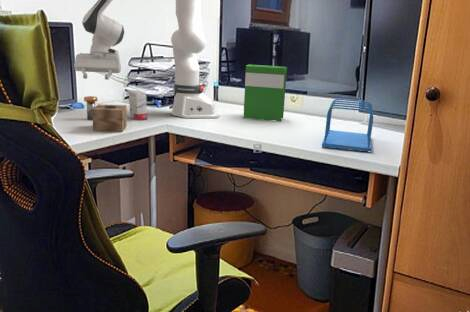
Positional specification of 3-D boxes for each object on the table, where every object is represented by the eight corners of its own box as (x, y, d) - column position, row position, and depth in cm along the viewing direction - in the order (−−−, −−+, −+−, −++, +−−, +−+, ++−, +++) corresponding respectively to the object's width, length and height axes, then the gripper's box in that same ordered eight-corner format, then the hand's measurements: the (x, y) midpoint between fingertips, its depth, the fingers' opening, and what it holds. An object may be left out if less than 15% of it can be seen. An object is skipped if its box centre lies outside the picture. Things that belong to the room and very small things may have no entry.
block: (126, 125, 192) (126, 105, 190) (122, 132, 181) (122, 110, 179) (99, 125, 191) (98, 104, 189) (93, 131, 181) (92, 109, 178)
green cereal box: (283, 118, 223) (286, 67, 217) (280, 121, 216) (284, 68, 210) (246, 115, 227) (249, 64, 220) (243, 117, 220) (246, 65, 213)
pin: (99, 118, 204) (98, 96, 202) (96, 120, 199) (95, 98, 197) (86, 117, 204) (85, 96, 201) (83, 120, 199) (82, 98, 196)
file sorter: (370, 153, 168) (376, 110, 164) (321, 148, 172) (325, 106, 168) (369, 138, 191) (374, 100, 187) (326, 134, 195) (329, 97, 191)
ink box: (147, 119, 206) (147, 92, 203) (136, 120, 203) (136, 93, 200) (139, 116, 213) (139, 89, 210) (128, 116, 210) (128, 90, 207)
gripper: (75, 48, 212) (70, 72, 205) (121, 50, 214) (118, 74, 207) (77, 57, 218) (73, 81, 211) (122, 60, 220) (119, 83, 213)
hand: (95, 78), depth 209 cm, fingers open, 8 cm apart
